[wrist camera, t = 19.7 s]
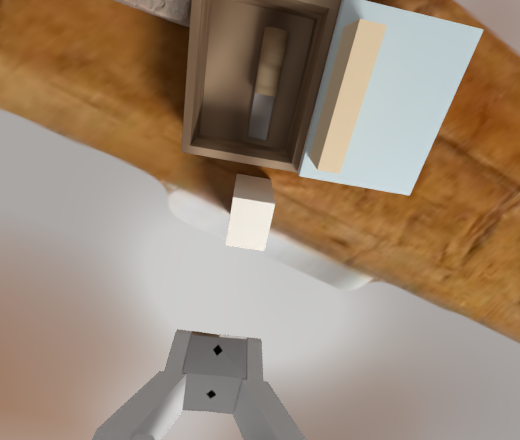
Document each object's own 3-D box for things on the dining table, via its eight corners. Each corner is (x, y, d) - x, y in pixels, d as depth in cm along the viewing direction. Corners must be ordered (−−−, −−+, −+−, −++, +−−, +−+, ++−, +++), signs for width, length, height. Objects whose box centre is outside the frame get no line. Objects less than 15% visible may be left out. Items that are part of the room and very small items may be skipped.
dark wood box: (322, 13, 30) (341, -2, 24) (289, 155, 37) (297, 172, 31) (206, -14, 29) (194, -38, 23) (193, 138, 36) (181, 152, 29)
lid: (475, 31, 25) (523, 22, 21) (405, 192, 32) (430, 211, 27) (342, -2, 24) (363, -19, 19) (297, 173, 30) (305, 190, 26)
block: (270, 179, 38) (275, 203, 31) (262, 219, 41) (264, 250, 34) (236, 173, 38) (233, 197, 31) (230, 214, 40) (225, 245, 33)
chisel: (287, 33, 30) (289, 31, 28) (266, 139, 35) (267, 143, 33) (264, 28, 30) (265, 25, 28) (246, 135, 35) (246, 139, 33)
